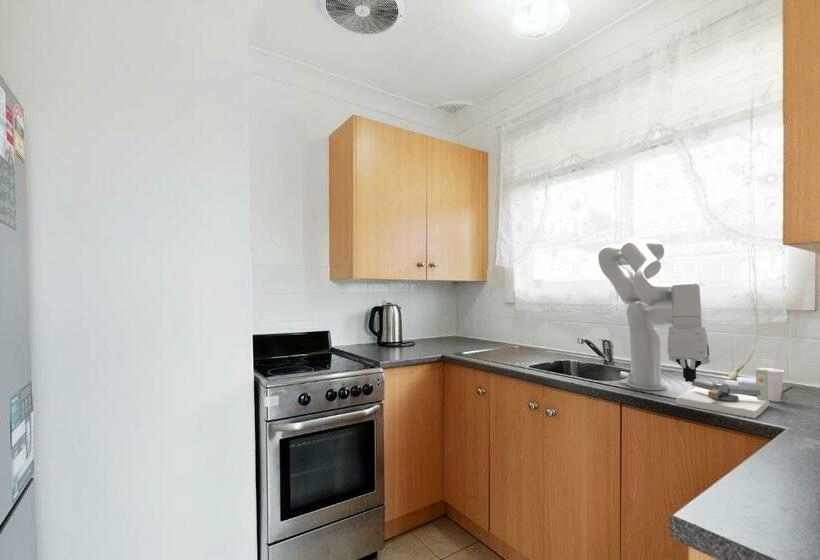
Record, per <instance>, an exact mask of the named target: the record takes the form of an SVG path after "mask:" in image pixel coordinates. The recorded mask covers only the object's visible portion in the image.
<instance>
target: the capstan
mask: <svg viewBox="0 0 820 560" xmlns="http://www.w3.org/2000/svg"><path fill="white" fill-rule="evenodd" d="M691 386H693V387H696V388H702V389H707V390H710V391H709V392H708V398H713V399H717V400H723V401H738V400H739V397H738V396H736V395H733V394H741V395H747V396H756V395H757V396H761V394H760V390H759V389H749V388H733V387H729V384H725V383H719V381H718V382H714V381H713V382H712V383H709V382H704V381H700V380H697V379H695V381H693V382H691ZM729 393H730V394H729ZM757 396H756V397H757Z"/></svg>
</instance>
